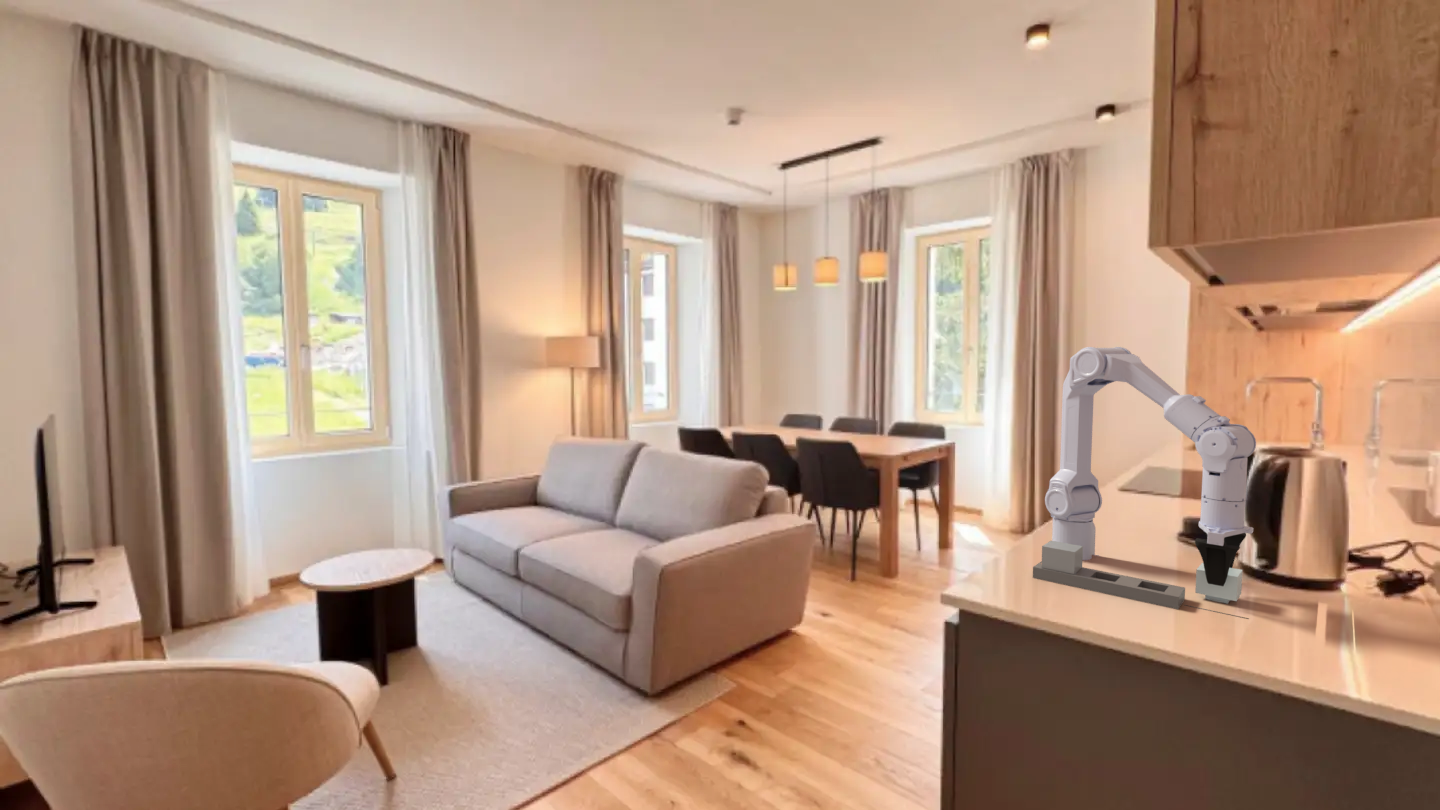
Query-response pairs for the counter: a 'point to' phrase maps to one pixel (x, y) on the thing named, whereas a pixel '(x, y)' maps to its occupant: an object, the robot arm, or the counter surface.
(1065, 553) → the power strip
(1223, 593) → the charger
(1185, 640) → the counter surface
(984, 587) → the counter surface
